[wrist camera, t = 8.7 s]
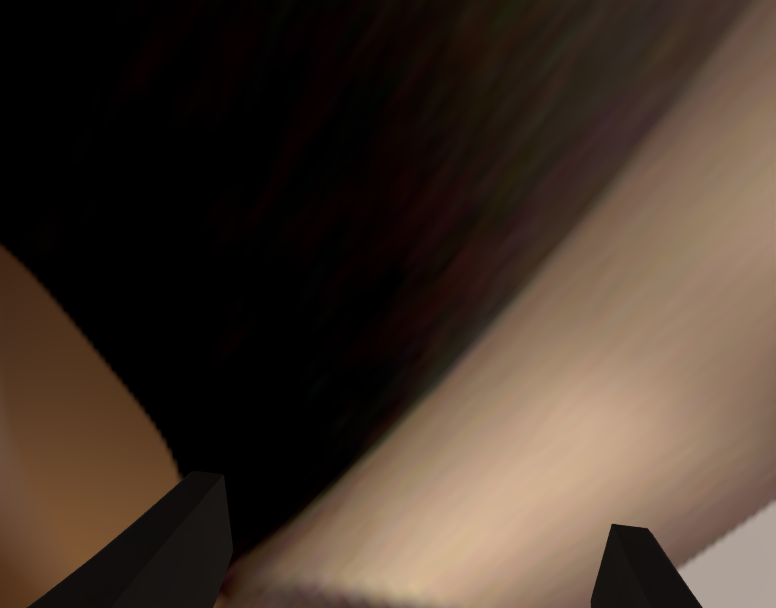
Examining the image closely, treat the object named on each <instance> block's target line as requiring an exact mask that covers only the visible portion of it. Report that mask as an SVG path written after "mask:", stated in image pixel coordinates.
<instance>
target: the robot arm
mask: <svg viewBox="0 0 776 608" xmlns="http://www.w3.org/2000/svg"><path fill="white" fill-rule="evenodd" d="M232 552H233V545H232V537H231V529H230V521H229V513H228V505H227V497H226V489H225V481H224V475H223V474H215V473H207V472H199V471H193V472H191V473H190V474H189V475H188V476H186V477H185V478H184V479H183V480H182V481H181V482H179V483H178V484H177V485H176V486H175V487H174V488H173V489H172V490H170V491H169V492H168V493H167V494H166V495H165V496H164V497H162V498H161V499H160V500H159V501H158V502H157V503H156V504H155V505H153V506H152V507H151V508H150V509H149V510H148V511H147V512H145V513H144V514H143V515H142V516H141V517H139V518H138V519H137V520H136V521H135V522H134V523H133V524H132V525H130V526H129V527H128V528H127V529H125V530H124V531H123V532H122V533H121V534H120V535H118V536H117V537H116V538H115V539H114V540H112V541H111V542H110V543H109V544H108V545H107V546H106V547H104V548H103V549H102V550H100V551H99V552H98V553H97V554H96V555H95V556H93V557H92V558H91V559H90V560H88V561H87V562H86V563H85V564H83V565H82V566H81V567H79V568H78V569H77V570H76V571H75V572H73V573H72V574H70V575H69V576H68V577H67V578H65V579H64V580H63V581H61V582H60V583H59V584H57V585H56V586H55V587H54V588H52V589H51V590H50V591H48V592H47V593H46V594H45V595H44V596H42V597H41V598H39V599H38V600H36V601H35V602H34V603H32V604H31V605H30V606H28V607H27V608H213V606H214V604H215V601H216V598H217V596H218V593H219V590H220V587H221V585H222V582H223V579H224V576H225V573H226V570H227V567H228V564H229V561H230V558H231V555H232ZM591 608H702V606H701V605H700V603H699V602H698V600H697V599H696V597H695V596H694V595H693V593H692V592H691V590H690V589H689V587H688V586H687V585H686V583H685V582H684V580H683V579H682V577H681V576H680V574H679V573H678V571H677V570H676V568H675V567H674V566H673V564H672V563H671V561H670V560H669V558H668V557H667V555H666V554H665V552H664V551H663V549H662V548H661V546H660V545H659V543H658V542H657V540H656V539H655V537H654V536H653V534H652V533H651V532H650V531H649V529H648V528H641V527H633V526H625V525H617V524H612V525H611V529H610V532H609V536H608V540H607V543H606V547H605V551H604V554H603V558H602V561H601V565H600V569H599V572H598V576H597V580H596V583H595V587H594V590H593V594H592V598H591Z"/></svg>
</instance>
